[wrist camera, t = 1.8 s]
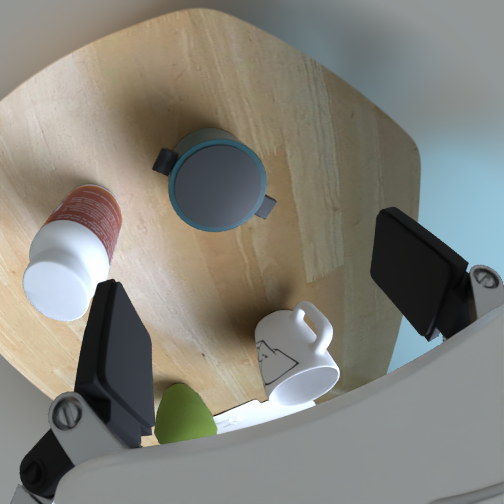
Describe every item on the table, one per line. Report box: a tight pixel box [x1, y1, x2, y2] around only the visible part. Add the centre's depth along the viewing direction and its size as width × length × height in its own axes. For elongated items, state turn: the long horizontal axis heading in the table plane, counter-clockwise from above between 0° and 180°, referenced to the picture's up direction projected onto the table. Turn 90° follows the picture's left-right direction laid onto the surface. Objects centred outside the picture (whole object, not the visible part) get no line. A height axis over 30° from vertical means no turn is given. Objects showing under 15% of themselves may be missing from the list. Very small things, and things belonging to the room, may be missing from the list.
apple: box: [154, 383, 218, 445], centre depth 34 cm, size 9×8×12 cm
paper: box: [213, 400, 316, 434], centre depth 50 cm, size 25×17×1 cm
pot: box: [152, 128, 276, 232], centre depth 21 cm, size 7×9×6 cm
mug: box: [255, 301, 339, 408], centre depth 32 cm, size 11×8×10 cm
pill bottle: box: [23, 185, 123, 321], centre depth 18 cm, size 6×6×11 cm
